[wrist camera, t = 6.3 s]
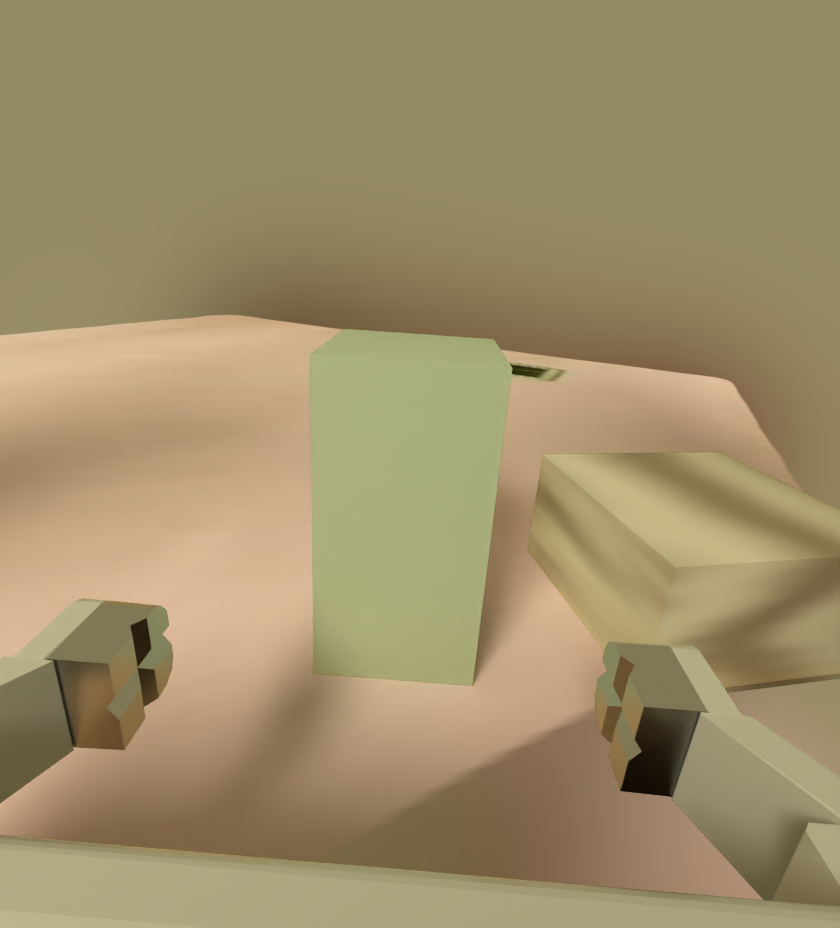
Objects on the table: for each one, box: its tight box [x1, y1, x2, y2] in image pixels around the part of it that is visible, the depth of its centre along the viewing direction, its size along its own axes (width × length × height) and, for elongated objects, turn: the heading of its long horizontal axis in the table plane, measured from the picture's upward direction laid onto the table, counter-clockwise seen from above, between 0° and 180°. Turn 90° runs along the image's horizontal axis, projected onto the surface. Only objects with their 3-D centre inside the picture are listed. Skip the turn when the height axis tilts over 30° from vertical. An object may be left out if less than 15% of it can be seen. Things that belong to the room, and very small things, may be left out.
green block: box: [310, 329, 512, 686], centre depth 17 cm, size 5×5×10 cm
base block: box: [528, 452, 840, 693], centre depth 21 cm, size 9×9×5 cm
